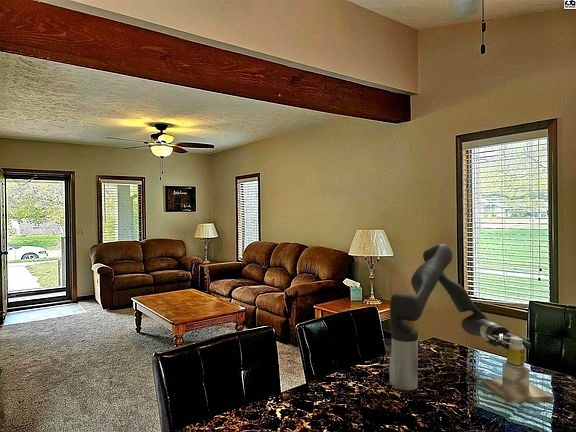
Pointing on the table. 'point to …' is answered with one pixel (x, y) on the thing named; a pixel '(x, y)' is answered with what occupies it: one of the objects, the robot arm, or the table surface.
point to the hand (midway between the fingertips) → (519, 346)
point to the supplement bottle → (515, 353)
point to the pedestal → (516, 386)
